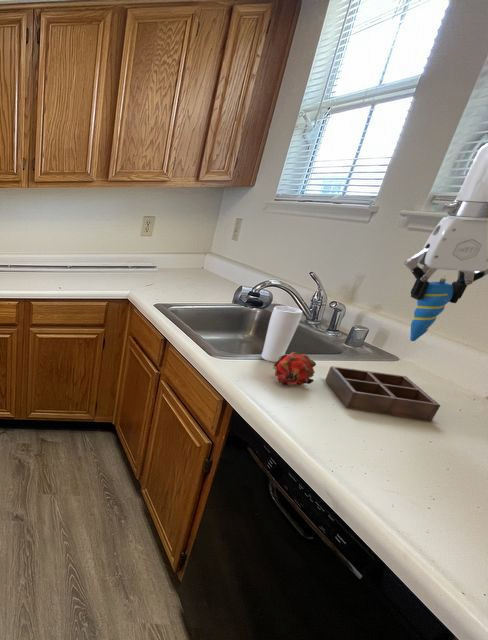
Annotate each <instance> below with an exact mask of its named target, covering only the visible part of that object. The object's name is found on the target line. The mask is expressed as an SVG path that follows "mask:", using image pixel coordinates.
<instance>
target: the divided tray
mask: <svg viewBox="0 0 488 640" xmlns="http://www.w3.org/2000/svg"><path fill="white" fill-rule="evenodd" d="M324 381H325V382H326V383H327V385H328V386H329V387H330V389H331V390H332V391H333V392H334V394H335V395H336V396H337V398H338V399H339V400H340V402H342V404H343V405H344V407H345V408H347V409H351V410H357V411H364V412H369V413H370V412H371V413H376V414H382V415H389V416H395V417H402V418H406V419H407V418H408V419H414V420H420V421H425V422H432V421H433V419H434V418H435V416H436V414H437V413H438V411H439V409H440V407H441V404H440V403H438V402H437V401H436V400H435V399H434V398H432V397H431V396H430V395H429V394H427V393H426V392H425V391H424V390H423V389H422V388H420V386H418V385H417V384H416V383H414V382H413V381H412V380H411V379H410V378H408V376H406V375H401V374H400V375H399V374H392V373H385V372H379V371H370V370H364V369H363V370H362V369H355V368H348V367H341V366H335V365H331V366H330V368H329V370H328V372H327V374H326V377H325V379H324Z"/></svg>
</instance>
